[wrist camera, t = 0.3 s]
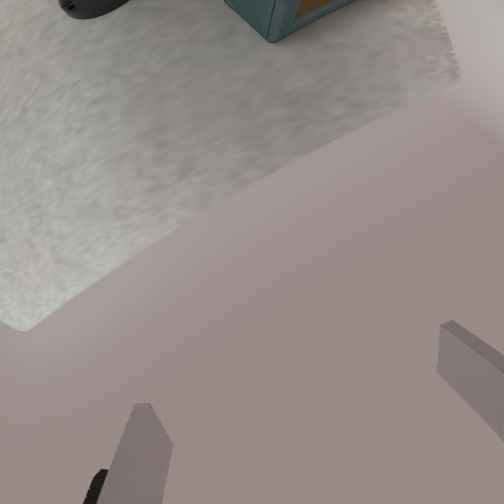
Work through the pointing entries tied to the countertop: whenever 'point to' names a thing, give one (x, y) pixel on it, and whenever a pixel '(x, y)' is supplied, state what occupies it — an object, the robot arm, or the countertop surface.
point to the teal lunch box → (282, 14)
